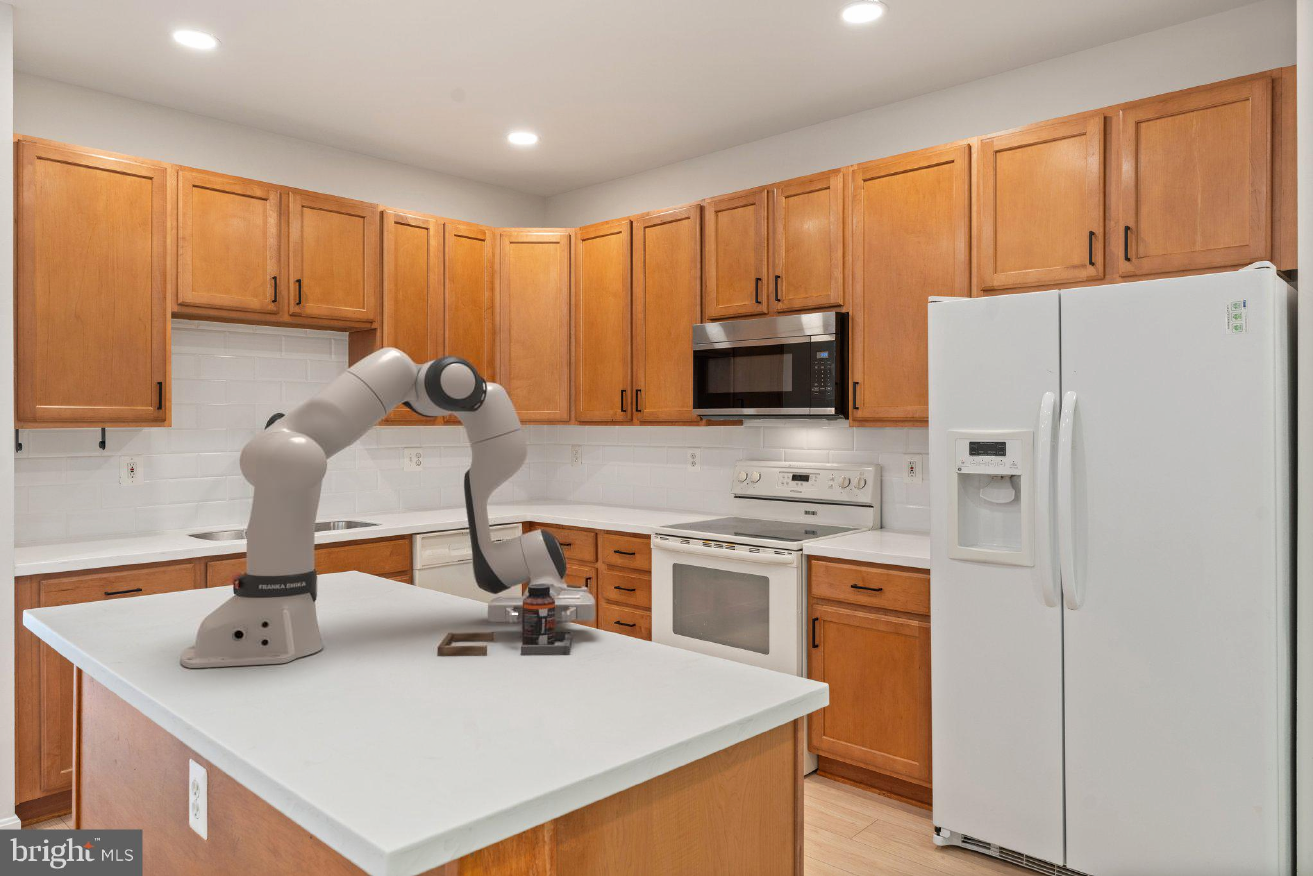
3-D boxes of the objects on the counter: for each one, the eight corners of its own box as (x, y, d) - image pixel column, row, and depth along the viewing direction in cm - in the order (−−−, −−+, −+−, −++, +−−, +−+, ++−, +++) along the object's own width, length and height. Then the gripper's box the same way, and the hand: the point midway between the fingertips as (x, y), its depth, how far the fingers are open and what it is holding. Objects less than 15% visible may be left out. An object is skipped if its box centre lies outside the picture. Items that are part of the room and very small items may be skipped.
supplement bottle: (552, 651, 152) (552, 588, 152) (519, 651, 152) (519, 588, 152) (556, 643, 158) (557, 582, 158) (525, 643, 158) (525, 582, 158)
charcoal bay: (520, 655, 149) (520, 646, 149) (525, 639, 160) (526, 632, 160) (569, 654, 150) (569, 646, 150) (571, 639, 161) (571, 631, 160)
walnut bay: (437, 655, 148) (437, 647, 148) (448, 640, 159) (448, 632, 159) (486, 655, 148) (486, 646, 148) (493, 640, 159) (494, 632, 159)
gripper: (491, 587, 167) (482, 601, 153) (595, 587, 168) (595, 600, 154) (491, 619, 167) (481, 635, 153) (595, 618, 168) (594, 635, 154)
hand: (539, 618), depth 154 cm, fingers open, 8 cm apart
